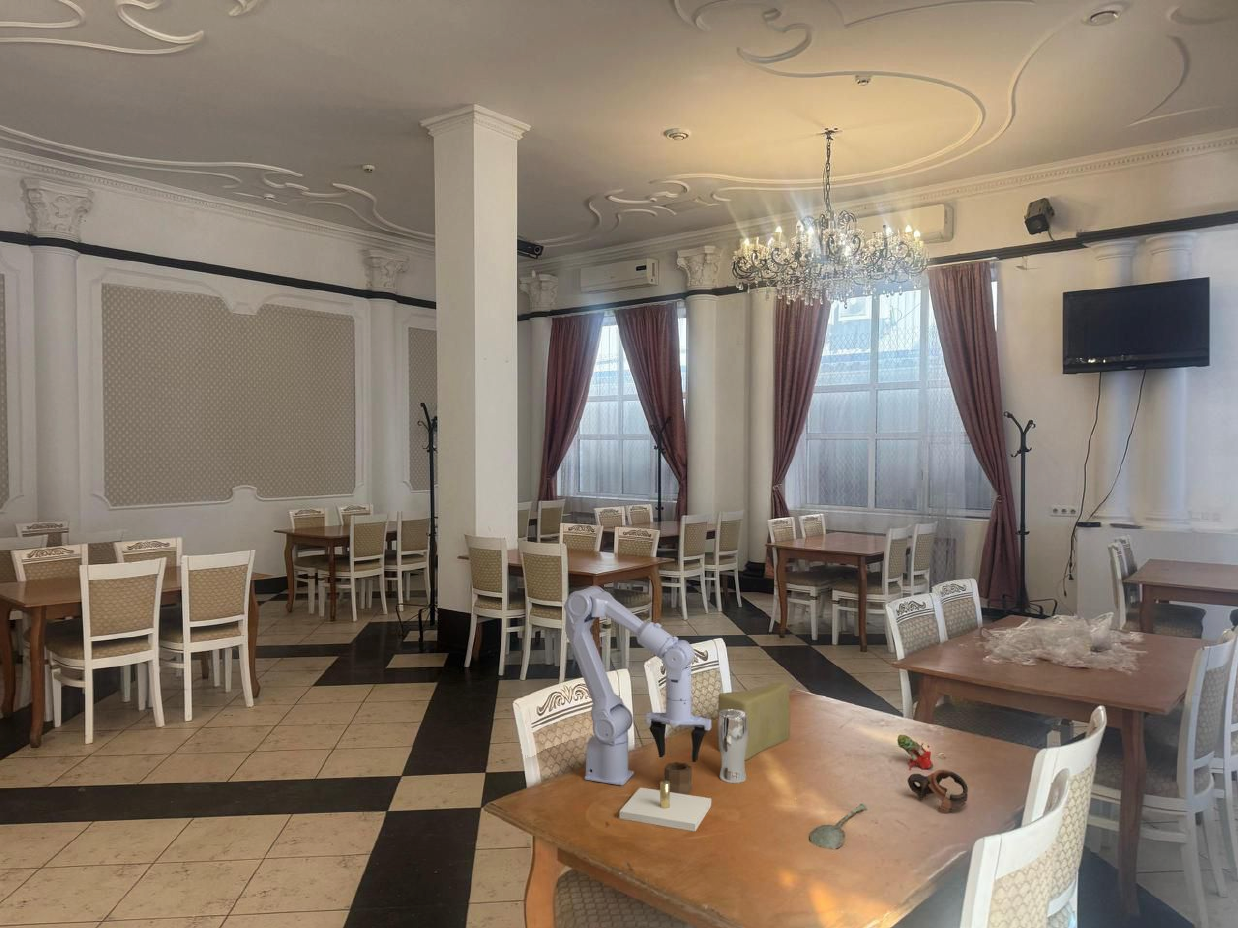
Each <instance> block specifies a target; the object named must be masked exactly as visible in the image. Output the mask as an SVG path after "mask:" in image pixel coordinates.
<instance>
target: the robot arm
mask: <svg viewBox="0 0 1238 928" xmlns="http://www.w3.org/2000/svg"><path fill="white" fill-rule="evenodd" d="M563 608H564V609H563V610H564V611H565V625H564V630H565V635H566V637H567V639H568V641H569V642H568V643H569V645H570V647H571V649H572V652H573V655H574V658H575V660H576V663H577V664H578V668H579V670H580V673H581V675H582V678H583V681H584V683H585V686H586V688H587V689H586V690H587V691H588V695H589V696H590V699H591V702H592V706H591V710H590V717H591V719H592V732H593V736H591V737H589V739H588V741H587V744H586V749H585V750H586V751H585V776H584V780H585V781H591V782H599V783H602V784H603V783H604V784H611V785H617V786H624V785H625V784H626V783H627V782H628V780H630V778H631V777H633V775H634V774H635V771H633V770H629V733H628V731H629V730H630V729H631V727H632V725H633V722H634V720H633V719H634V718H633V714H632V712H631V710H630V709H629V708H628V707H627V706H626V704H625V703H624V701H623V699H622V698H621V697H620V696H619V695H617V694H616V693H615V692H614V691H615V690H614V689H613V686H612V684H611V682H610V679H609V676H608V673H607V671H606V669H605V666H604V663H603V661H602V657H601V655H600V653H599V650H598V648H597V645H596V642H595V639H594V638H593V636H592V633H591V628H592V626H593V624H594V621H595V620H596V618H609V619H610V620H611V621H612V622H615V623H617V624H618V625H619V626H621V627H623V628H624V629H625V630H627V631H629V632H630V633H632V634H634V635H635V637H636V640H637V641H636V642H637V643H638V645H640V646H641V647H643V648H644V649H646V650H647V651H648V652H650V653H651V654H653V655H654V656H655V657H656V658H658V659H659V660H661V663H662V666H663V667H664V668H665V712H648V713H646V715H645V719H646V720H645V721H646V724H650V726H649V731H650V733H651V734H652V737H653V739H654V742H655V745H656V749H657V751H658V757H659V758H663V757H664V756H665V754H666V741H665V740H666V739H665V738H666V728H667V725H668V726H677V727H686V728H693V729H692V731H690V735H691V742H692V743H691V744H692V747H691V748H692V751H691V762H693V763H696V762H697V760H698V759H699V752H700V750H701V749H700V748H701V745H702V743H703V740H704V738H705V735H706V733H707V731H708V732H709V731H710V730H711V729H712V719H711V718H705V717H700V716H696V715H693V714H692V665H691V664H692V663H694V660H695V657H696V652H695V649H694V647H693V646H692V645H691V644H690V643H689V641H687V640H683V639H680V640H679V638H678V637H677V636H676V635H675V636H673V635H671V634H670V633H668V632H667V631H666V630H664V629H663V628H662V624H660V623H658V622H656V623H655V622H653V621H651V622H645V621H643V620H641V619H640V618H639V617H638V616H637V615H635V614H634V613H633V612H631V610H629V609H628V608H627V607H625V606H624V605H623V604H621V602H619V601H618V600H617V599H615V597H614V596H613V595H612V594H611V593H610V592H608V591H605V590H604V589H603V588H602V587H600V586H598V585H591V586H588V587H587V588H584V589H580V590H575V591H573V592H571V593H570V594H569V595H568V597H567V599H566V601H565V602H564V604H563Z"/></svg>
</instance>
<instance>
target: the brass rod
mask: <svg viewBox="0 0 1238 928" xmlns="http://www.w3.org/2000/svg"><path fill="white" fill-rule="evenodd" d="M659 789H660V807H661V808H663V809H667V808H669V807H670V782H669V781H664V780H662V781H660V782H659Z"/></svg>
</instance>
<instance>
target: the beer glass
mask: <svg viewBox="0 0 1238 928" xmlns="http://www.w3.org/2000/svg"><path fill="white" fill-rule="evenodd" d="M717 724H718V725H717V737H718V739H717V740H718V747H719V746H720V750H719V752H720V759H721V765H720V772H719V778H720V780H721V781H722V782H726V783H729V784H741V783H743V782H745V781H746V780H747V775H746V768H745V767H746V766H745V761H746V760H745V754H746V749H747V743H748V714H747V713H746V712H744V711H742V710H736V709H726V710H722V711H720V712H719V722H718V721H717Z"/></svg>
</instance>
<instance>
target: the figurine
mask: <svg viewBox="0 0 1238 928" xmlns="http://www.w3.org/2000/svg"><path fill="white" fill-rule="evenodd" d="M896 741H897V746H898V747H899V748H900V749H903V750H904V751H905V752H906V753H907V754H908V755H910V759H909V762H910V764H909V765H908V766H909V771H912V768H911V767H914V766H915V765H918V766H919V767H920V768H921V770H922V771H923V770H926V769H929V768H931V767H933V766H934V764H933V762H932V761H931V756H932V751H927V750H926V749H925V748H924V747H923V745H924V742H922V743H921V744H919V743H918V742H917V741H916V740H913V739H912V738H911V737H910V736H908V735H905V734H898V737H897V740H896ZM926 747H927V748H928V749H929V748H930V745H929V744H928V745H927V746H926Z"/></svg>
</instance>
